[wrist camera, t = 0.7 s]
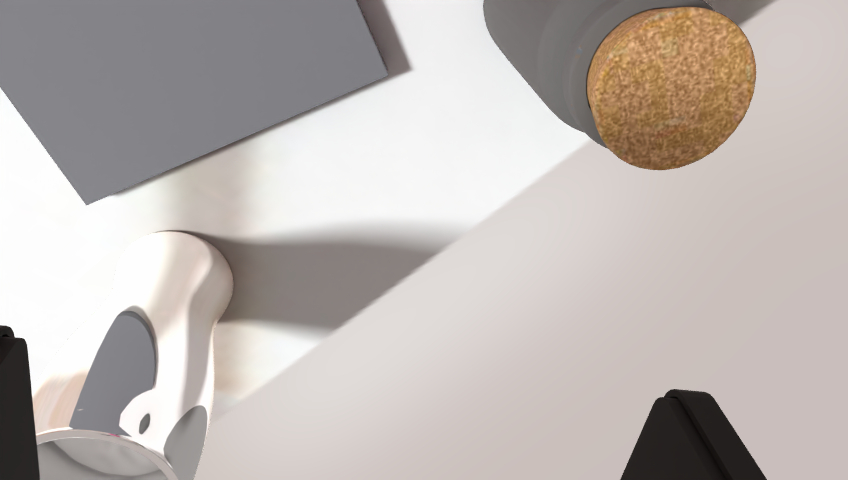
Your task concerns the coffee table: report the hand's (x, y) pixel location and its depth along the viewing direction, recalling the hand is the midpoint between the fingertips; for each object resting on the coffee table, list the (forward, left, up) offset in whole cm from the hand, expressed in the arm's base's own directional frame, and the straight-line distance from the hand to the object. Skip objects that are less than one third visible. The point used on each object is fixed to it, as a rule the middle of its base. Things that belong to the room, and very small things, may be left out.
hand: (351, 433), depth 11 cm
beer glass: (+14, +8, -26) cm, 30 cm away
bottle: (-9, +2, -26) cm, 27 cm away
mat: (+7, -5, -26) cm, 27 cm away
